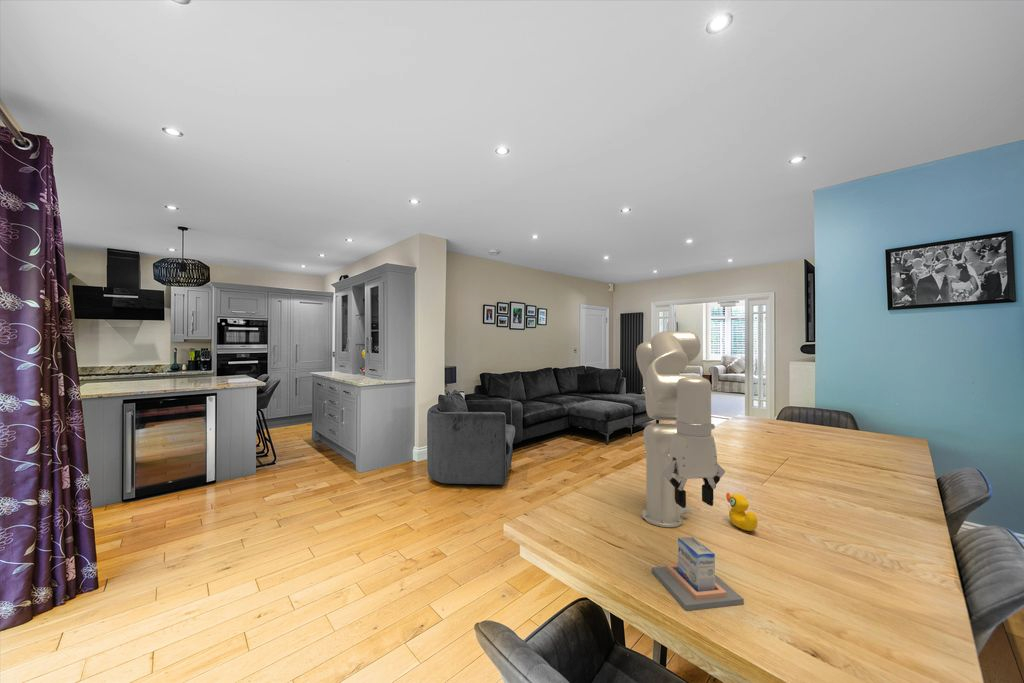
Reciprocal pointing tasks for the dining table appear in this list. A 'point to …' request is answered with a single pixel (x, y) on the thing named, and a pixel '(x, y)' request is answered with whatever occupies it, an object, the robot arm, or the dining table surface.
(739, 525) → the duckling
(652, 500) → the robot arm
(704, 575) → the medicine box
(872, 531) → the dining table surface
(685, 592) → the base plate
